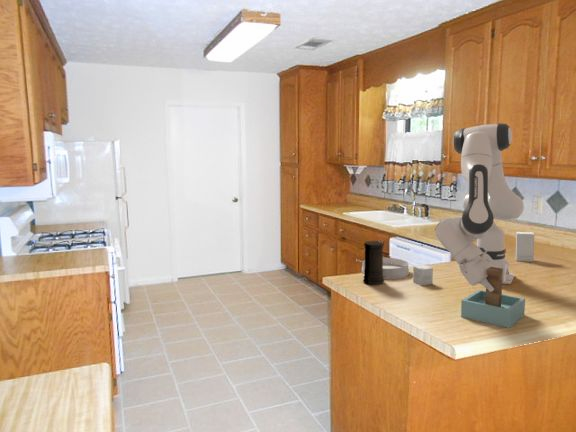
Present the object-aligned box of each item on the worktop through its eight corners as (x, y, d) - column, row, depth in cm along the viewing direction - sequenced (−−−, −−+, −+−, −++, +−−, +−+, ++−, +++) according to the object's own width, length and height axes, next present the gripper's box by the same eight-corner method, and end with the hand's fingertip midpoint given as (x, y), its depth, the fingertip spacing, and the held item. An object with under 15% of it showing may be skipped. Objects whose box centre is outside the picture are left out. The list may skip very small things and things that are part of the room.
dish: (383, 264, 234) (383, 255, 233) (418, 273, 216) (418, 263, 216) (352, 272, 221) (352, 262, 220) (387, 282, 203) (387, 271, 203)
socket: (478, 305, 171) (479, 289, 170) (524, 314, 160) (525, 298, 159) (461, 316, 159) (461, 300, 159) (509, 328, 149) (510, 310, 148)
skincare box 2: (532, 259, 238) (534, 231, 236) (533, 262, 233) (535, 233, 231) (514, 258, 241) (516, 231, 239) (515, 261, 236) (516, 232, 234)
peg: (488, 310, 163) (491, 266, 160) (500, 312, 160) (503, 268, 158) (484, 313, 160) (486, 269, 157) (496, 316, 157) (499, 270, 155)
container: (384, 280, 205) (385, 241, 203) (383, 286, 197) (383, 245, 194) (364, 279, 208) (364, 240, 205) (362, 284, 199) (362, 244, 197)
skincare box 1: (424, 280, 204) (424, 264, 203) (432, 284, 198) (433, 267, 197) (412, 282, 202) (413, 266, 201) (421, 285, 196) (421, 269, 195)
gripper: (463, 257, 154) (492, 290, 149) (485, 247, 169) (512, 277, 163) (450, 267, 158) (477, 301, 152) (473, 257, 172) (498, 287, 167)
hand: (495, 288), depth 158 cm, fingers closed on peg, 4 cm apart
